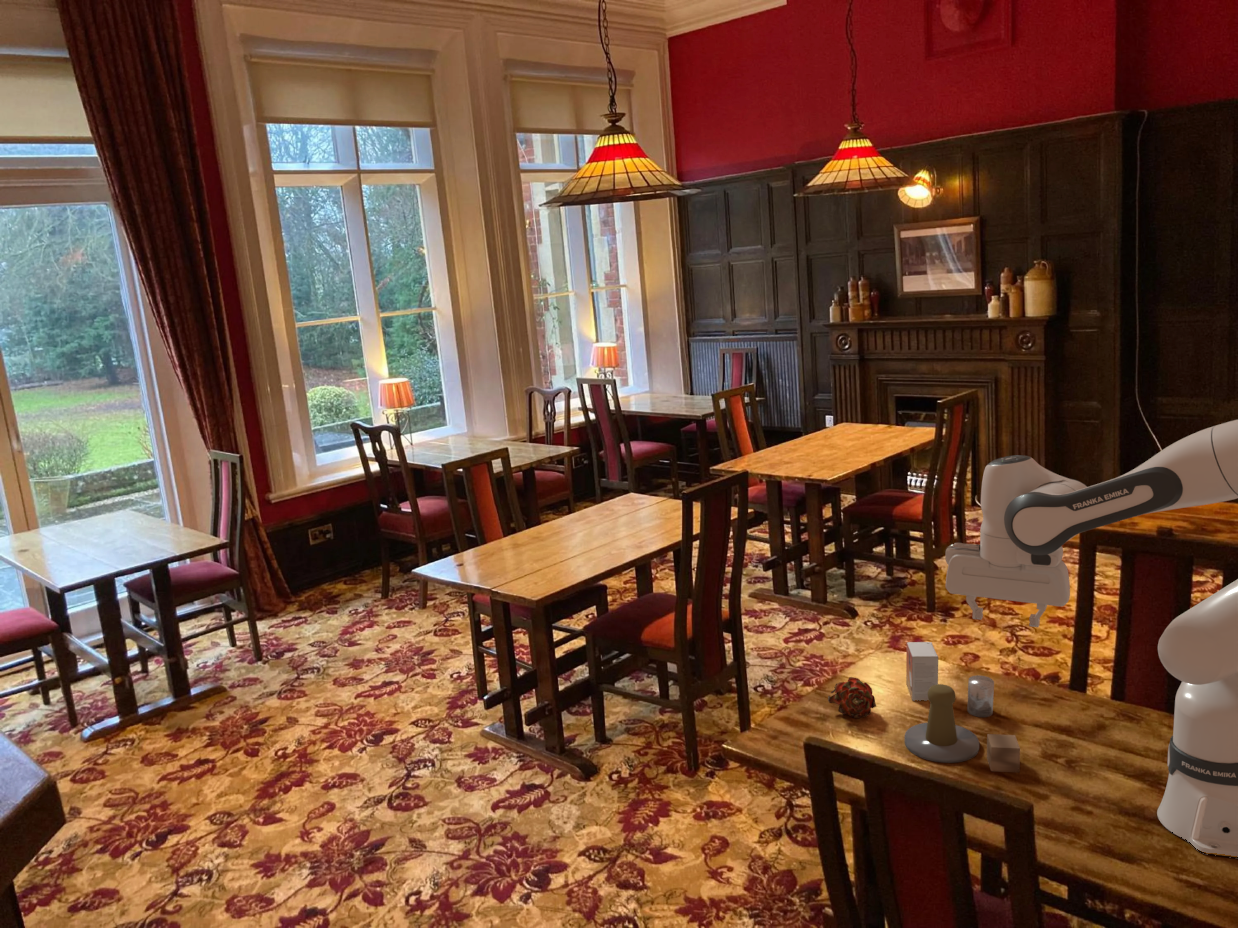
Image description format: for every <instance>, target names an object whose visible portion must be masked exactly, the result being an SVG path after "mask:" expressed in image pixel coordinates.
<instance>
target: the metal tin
mask: <svg viewBox="0 0 1238 928" xmlns="http://www.w3.org/2000/svg"><path fill="white" fill-rule="evenodd" d="M967 683H968V685H967V689H968V690H967V706H966V707H967V713H968V714H970V715H971V716H974V717H978V718H989V717H991V716H992V715H993V713H994V712H993V711H994V709H993V708H994V693H995V692H994V690H995V681H994V680H993V679H992V678H991V677H989V676H985V675H972V676H970V677H969V678H968V682H967Z"/></svg>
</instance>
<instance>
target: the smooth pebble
mask: <svg viewBox="0 0 1238 928" xmlns="http://www.w3.org/2000/svg"><path fill="white" fill-rule="evenodd" d="M927 723H928V722H921V723H918V724H915V725H912V726H911V727H909V728H908V729H907V730H906V731H905V734H904V745H905V748H906V749H907V750H908V751H909V752H910V753H911V754H913V755H914V756H917V757H918V758H921V759H924V760H927V761H931V762H935V763H944V764H945V763H946V764H953V763H962V762H965V761H968V760H971V759H973V758H974V757H976V756H977V755H978V753H979V751H980V741H979V738H978V736H977V735H976V734H975V733H974V732H972V731H971V730H970V729H967V728H965V727H963V726H960V725H957V724H955V726H956V734H957V742H956V743H955V744H954V745H951V746H938V745H934V744H931V743H930V742H928V741H927V740H926V737H925V736H926V729H927Z"/></svg>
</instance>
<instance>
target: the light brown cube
mask: <svg viewBox="0 0 1238 928" xmlns="http://www.w3.org/2000/svg"><path fill="white" fill-rule="evenodd" d="M986 737H987V739H986V760H987V762H988V765H989V770H990V772H999V773H1000V772H1001V773H1002V772H1003V773H1004V772H1005V773H1020V765H1021V763H1020V762H1021V759H1020V757H1021V747H1020V745H1019V742H1018V739H1017V737H1016V734H993V733H992V734H991V733H987V736H986Z"/></svg>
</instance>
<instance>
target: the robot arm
mask: <svg viewBox="0 0 1238 928" xmlns="http://www.w3.org/2000/svg"><path fill="white" fill-rule="evenodd" d="M980 491H981V492H980V509H981V512H982V522H981V525H980V528H979V529H980V531H979V532H980V533H979V534H980V536H979V537H980V539H979V540H980V541H979V543H980V544H978V543H962V542H954V544H953V543H952V544H950V545H949V546H947V547H946V548H945V553H944V554H945V556H944V557H945V558H944V559H945V562H946V564H947V565H948V566H947V570H946V575H945V576H946V577H945V589H946V590H947V591H948V592H949V594H952V595H959V596H966V597H965V602H966V603H967V604H968V607H969V608H970V609H971V611H972V619H973V620H979V621H982V619H983V618H984V613H983V612H984V608H983V607H979V605H978V604H977V602H976V599H977V597H979V598H986V599H995V600H1001V601H1002V600H1003V601H1011V602H1012V601H1013V602H1021V603H1027V604H1028V603H1029V604H1036V609H1037V612H1036V613H1031V614H1030V615H1029V620H1028V621H1029V622H1028V623H1029V625H1028V627H1032V628H1033V627H1034V628H1039V627H1040V622H1041V617H1042V616H1043V614H1044V613H1045V612H1046V609H1047V607H1048V606H1053V607H1060V608H1061V607H1064V606H1065V605H1067V604H1068V603H1069V601H1070V596H1071V586H1070V585H1071V584H1070V583H1071V582H1070V575H1069V570H1068V567H1067V564H1066V563H1065V562H1064V561H1063V556H1064V548H1063V545H1065V544H1066V543H1067V542H1069V541H1070V540H1071V539H1073V538H1074V537H1076V536H1077V535H1079V534H1082V533H1084V532H1087V531H1091V530H1094V529H1096V528H1100V527H1104V526H1107V525H1110V524H1114V523H1118V522H1121V521H1125V520H1127V519H1132V518H1134V517H1139V516H1143V515H1147V514H1153V513H1159V512H1165V511H1171V510H1178V509H1183V508H1193V507H1199V506H1205V505H1213V504H1217V503H1222V502H1227V501H1228V502H1229V501H1232V500H1236V499H1238V419H1234V420H1230V421H1227V422H1222V423H1221V424H1220V423H1219V424H1217V425H1213V426H1211V427H1207V428H1204V429H1201V430H1199V431H1196V432H1195V433H1192V434H1190V435H1189V434H1188V435H1187V436H1185V437H1183V438H1181V439H1179V440H1177V441H1175V442H1173V443H1172V444H1170V445H1168V446H1166V447H1165V448H1163V449H1162V450H1161V451H1159V452H1158V453H1155V454H1154V455H1153V456H1151V458H1148V460H1146V461H1145V462H1143V463H1141V464H1139V465H1138V466H1136V467H1135V468H1134V469H1131V470H1130V471H1128V472H1126V473H1124V474H1122V475H1119V476H1117V477H1115V478H1111V479H1109V480H1106V481H1102V482H1100V483H1099V482H1098V483H1097V484H1093V485H1090V486H1087V485H1086V484H1085V483H1083V482H1081V481H1080V480H1077V479H1073V478H1068V477H1066V476H1063V475H1059V474H1057V473H1055V472H1053V471H1051V470H1049V469H1047V468H1045V467H1043V466H1042V465H1040V464H1039V463H1038V462H1037V461H1036V460H1035V459H1034V458H1032V457H1031V456H1028V455H1022V454H1021V455H1020V454H1019V455H1018V454H1017V455H1016V454H1015V455H1014V454H1013V455H1007V456H1003V457H999V458H996V459H994V460H991V462H989V463H987V465H986V466H985V468H984V470H983V476H982V481H981V490H980ZM1157 653H1158V658H1159V660H1160V662H1161V664H1162V666H1163V667H1164V669H1165V670H1166V671H1167V672H1168V673H1169V674H1170V675H1171V676H1172V677H1174V678H1175V679H1177V680H1178V681H1181V683H1180V685H1179V687H1178V689H1177V691H1176V694H1175V700H1174V714H1173V729H1172V730H1173V733H1172V735H1171V736H1170V739H1169V744H1168V749H1167V768H1168V769H1167V770H1168V777H1167V783H1166V787H1165V791H1164V794H1163V797H1162V798H1161V802H1160V804H1159V806H1158V807H1157V811H1156V814H1157V819H1158V820H1159V821H1160V823H1161V824H1162V826H1163V827H1165V829H1167V830H1168V831H1169V832H1171V833H1172V832H1173V833H1172V834H1174V835H1176V836H1178V837H1180V838H1181V837H1182V838H1181V839H1183V840H1185V839H1186V840H1187V841H1186V840H1185V841H1186V842H1187V843H1189V842H1190V843H1191V844H1192V845H1193V846H1194V847H1195V848H1196V849H1195V848H1194V847H1193V846H1192V845H1191V844H1190V843H1189V844H1190V845H1191V846H1192V847H1193V848H1194V849H1195V850H1197V849H1198V850H1200V851H1202V852H1206V853H1217V854H1225V855H1231V856H1237V857H1238V578H1237V579H1236V580H1234V581H1233V582H1231V583H1229V584H1228V585H1226V586H1224V587H1223V588H1221V589H1219V590H1218V591H1216V592H1215V593H1213V594H1211V595H1210V596H1208V597H1207V598H1205V599H1204V600H1202V601H1200V602H1199V603H1198V604H1195V605H1194V606H1193V607H1191V608H1189V609H1187V610H1186V611H1184V612H1183V613H1181V614H1180V615H1178V616H1176V617H1175V618H1174V619H1172V621H1171V622H1170V623H1169V624H1168V625H1167V626H1166V628H1165V629H1164V631H1163V632H1162V634H1161V636H1160V637H1159V639H1158V644H1157ZM1198 850H1197V851H1198Z"/></svg>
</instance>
